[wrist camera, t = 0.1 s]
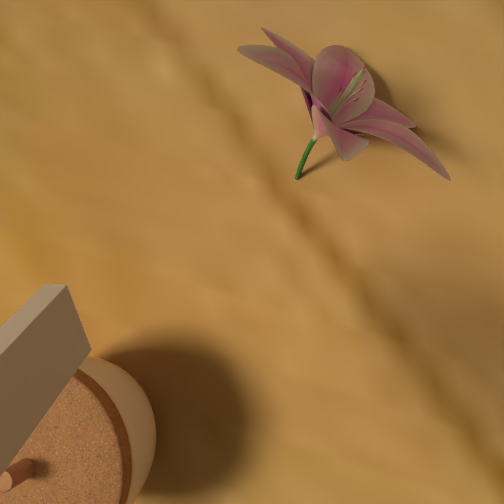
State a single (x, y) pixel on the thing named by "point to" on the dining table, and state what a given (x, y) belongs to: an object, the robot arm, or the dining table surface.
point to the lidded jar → (87, 443)
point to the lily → (341, 100)
